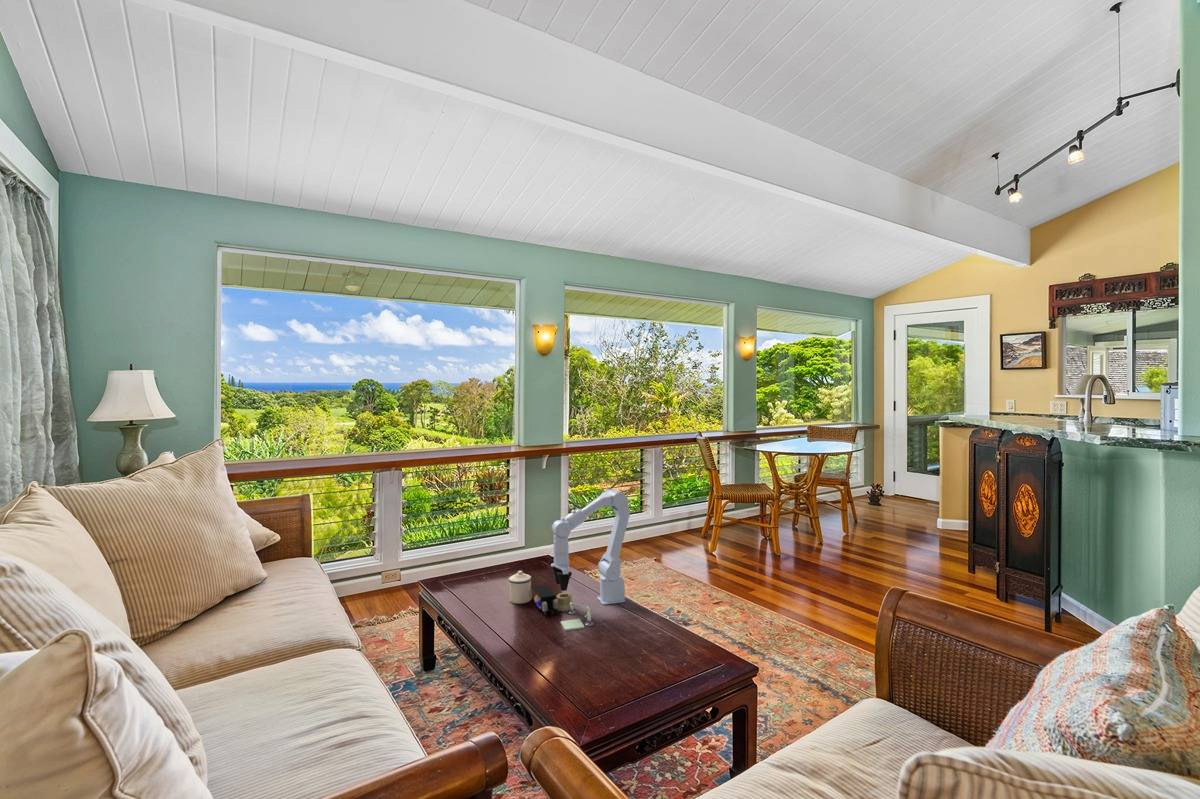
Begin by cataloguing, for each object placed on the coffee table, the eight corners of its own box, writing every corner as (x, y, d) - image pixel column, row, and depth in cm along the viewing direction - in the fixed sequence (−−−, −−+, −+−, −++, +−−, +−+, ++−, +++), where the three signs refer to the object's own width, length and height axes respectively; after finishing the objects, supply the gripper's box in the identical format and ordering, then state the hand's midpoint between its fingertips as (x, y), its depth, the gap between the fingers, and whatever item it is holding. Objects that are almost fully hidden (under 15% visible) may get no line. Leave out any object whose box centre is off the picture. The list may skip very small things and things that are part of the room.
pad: (579, 620, 202) (579, 618, 202) (584, 628, 195) (584, 626, 195) (560, 623, 200) (560, 621, 200) (565, 630, 193) (565, 629, 193)
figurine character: (560, 618, 208) (546, 600, 221) (560, 599, 207) (546, 582, 220) (543, 621, 205) (530, 603, 218) (543, 602, 204) (530, 585, 218)
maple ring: (568, 604, 217) (568, 592, 217) (573, 609, 212) (573, 597, 212) (555, 607, 215) (555, 594, 215) (559, 612, 210) (559, 599, 210)
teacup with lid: (534, 601, 220) (534, 572, 220) (512, 605, 217) (512, 576, 216) (525, 592, 231) (525, 564, 231) (504, 595, 227) (504, 567, 227)
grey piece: (587, 609, 212) (586, 599, 212) (598, 624, 198) (598, 614, 198) (566, 611, 210) (566, 601, 210) (576, 628, 195) (576, 617, 195)
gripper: (547, 548, 218) (547, 582, 218) (555, 558, 204) (555, 594, 205) (564, 546, 220) (564, 580, 221) (573, 556, 206) (574, 592, 207)
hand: (561, 587), depth 213 cm, fingers open, 7 cm apart
